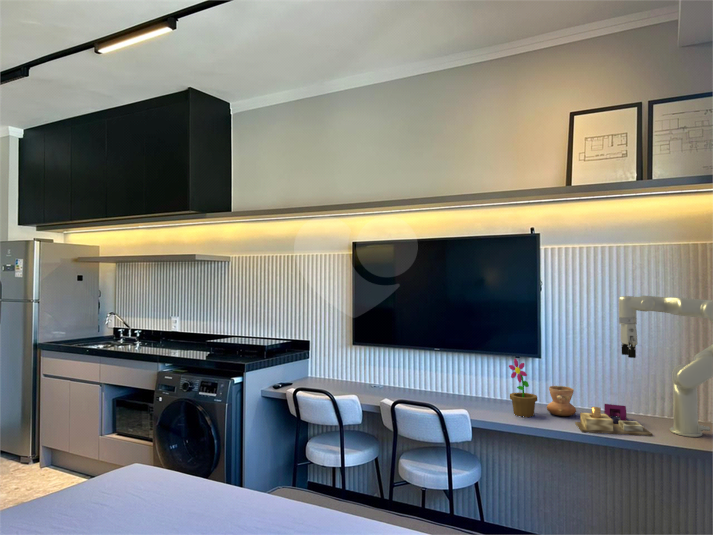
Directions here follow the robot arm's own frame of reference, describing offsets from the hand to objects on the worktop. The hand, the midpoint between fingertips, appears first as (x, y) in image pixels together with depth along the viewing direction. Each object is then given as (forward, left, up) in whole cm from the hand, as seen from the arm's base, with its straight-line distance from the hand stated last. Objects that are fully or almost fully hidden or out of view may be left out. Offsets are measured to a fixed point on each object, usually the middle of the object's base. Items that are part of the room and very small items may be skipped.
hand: (628, 356), depth 240 cm
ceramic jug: (+28, -18, -35) cm, 48 cm away
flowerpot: (+48, -13, -34) cm, 61 cm away
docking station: (+10, +7, -34) cm, 36 cm away
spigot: (+17, +7, -33) cm, 38 cm away
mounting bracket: (+3, -11, -35) cm, 37 cm away
